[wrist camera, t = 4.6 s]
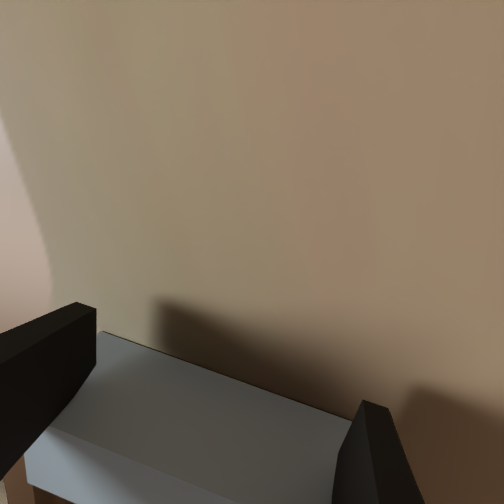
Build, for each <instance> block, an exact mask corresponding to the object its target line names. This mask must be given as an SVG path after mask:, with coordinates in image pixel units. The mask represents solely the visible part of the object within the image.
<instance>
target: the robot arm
mask: <svg viewBox="0 0 504 504" xmlns="http://www.w3.org/2000/svg"><path fill="white" fill-rule="evenodd" d="M95 366H96V308H93V307H90V306H87V305H84V304H81V303H78V302H75V303H72V304H69V305H67V306H64V307H62V308H60V309H57V310H55V311H53V312H50V313H48V314H46V315H43V316H41V317H39V318H36V319H34V320H32V321H29V322H27V323H25V324H23V325H20V326H18V327H15V328H13V329H10V330H8V331H6V332H3V333H1V334H0V481H1V480H2V479H3V477H4V476H5V475H6V474H7V473H8V471H9V470H10V469H11V468H12V467H13V466H14V465H15V463H16V462H17V461H18V460H19V459H20V458H21V457H22V456H23V454H24V453H25V452H26V451H27V450H28V449H29V448H30V447H31V445H32V444H33V443H34V442H35V441H36V440H37V439H38V438H39V436H40V435H41V434H42V433H43V432H44V431H45V430H46V429H47V427H48V426H49V425H50V424H51V423H52V422H53V421H54V420H55V418H56V417H57V416H58V415H59V414H60V413H61V412H62V410H63V409H64V408H65V407H66V406H67V405H68V404H69V402H70V401H71V400H72V399H73V398H74V396H75V395H76V394H77V392H78V391H79V389H80V388H81V387H82V385H83V384H84V382H85V381H86V379H87V378H88V376H89V375H90V373H91V372H92V370H93V369H94V367H95ZM331 504H425V503H424V500H423V498H422V495H421V493H420V491H419V488H418V486H417V483H416V481H415V479H414V476H413V474H412V471H411V468H410V466H409V463H408V461H407V458H406V455H405V453H404V450H403V447H402V444H401V442H400V439H399V436H398V433H397V430H396V428H395V425H394V422H393V419H392V416H391V413H390V411H389V409H388V408H386V407H383V406H380V405H377V404H374V403H371V402H368V401H365V400H362V402H361V404H360V406H359V409H358V411H357V413H356V415H355V417H354V419H353V421H352V424H351V426H350V428H349V430H348V432H347V434H346V437H345V439H344V441H343V443H342V445H341V447H340V449H339V452H338V456H337V463H336V469H335V476H334V483H333V490H332V502H331Z"/></svg>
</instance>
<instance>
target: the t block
mask: <svg viewBox="0 0 504 504" xmlns="http://www.w3.org/2000/svg"><path fill="white" fill-rule="evenodd" d="M351 424H352V421H349V420H346V419H343V418H341V417H338V416H335V415H332V414H329V413H327V412H324V411H321V410H318V409H316V408H313V407H310V406H307V405H305V404H302V403H299V402H296V401H293V400H291V399H288V398H285V397H282V396H280V395H277V394H274V393H271V392H268V391H266V390H263V389H260V388H257V387H255V386H252V385H249V384H246V383H244V382H241V381H238V380H235V379H232V378H230V377H227V376H224V375H221V374H219V373H216V372H213V371H210V370H207V369H205V368H202V367H199V366H196V365H194V364H191V363H188V362H185V361H183V360H180V359H177V358H174V357H171V356H169V355H166V354H163V353H160V352H158V351H155V350H152V349H149V348H146V347H144V346H141V345H138V344H135V343H133V342H130V341H127V340H124V339H122V338H119V337H116V336H113V335H110V334H108V333H105V332H102V331H100V332H99V333H98V334H97V335H96V366H95V367H94V369H93V370H92V372H91V373H90V375H89V376H88V378H87V379H86V381H85V382H84V384H83V385H82V387H81V388H80V389H79V391H78V392H77V394H76V395H75V396H74V398H73V399H72V400H71V401H70V402H69V404H68V405H67V406H66V407H65V408H64V409H63V410H62V412H61V413H60V414H59V415H58V416H57V417H56V418H55V420H54V421H53V422H52V423H51V424H50V425H49V426H48V427H47V429H46V430H45V431H44V432H43V433H42V434H41V435H40V436H39V438H38V439H37V440H36V441H35V442H34V443H33V444H32V445H31V447H30V448H29V449H28V450H27V451H26V452H25V453H24V459H25V467H26V475H27V483H29V484H31V485H34V486H36V487H38V488H41V489H43V490H45V491H48V492H50V493H52V494H55V495H57V496H59V497H62V498H64V499H66V500H68V501H71V502H73V503H75V504H331V502H332V490H333V483H334V476H335V469H336V463H337V456H338V452H339V449H340V447H341V445H342V443H343V441H344V439H345V437H346V434H347V432H348V430H349V428H350V426H351Z"/></svg>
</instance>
